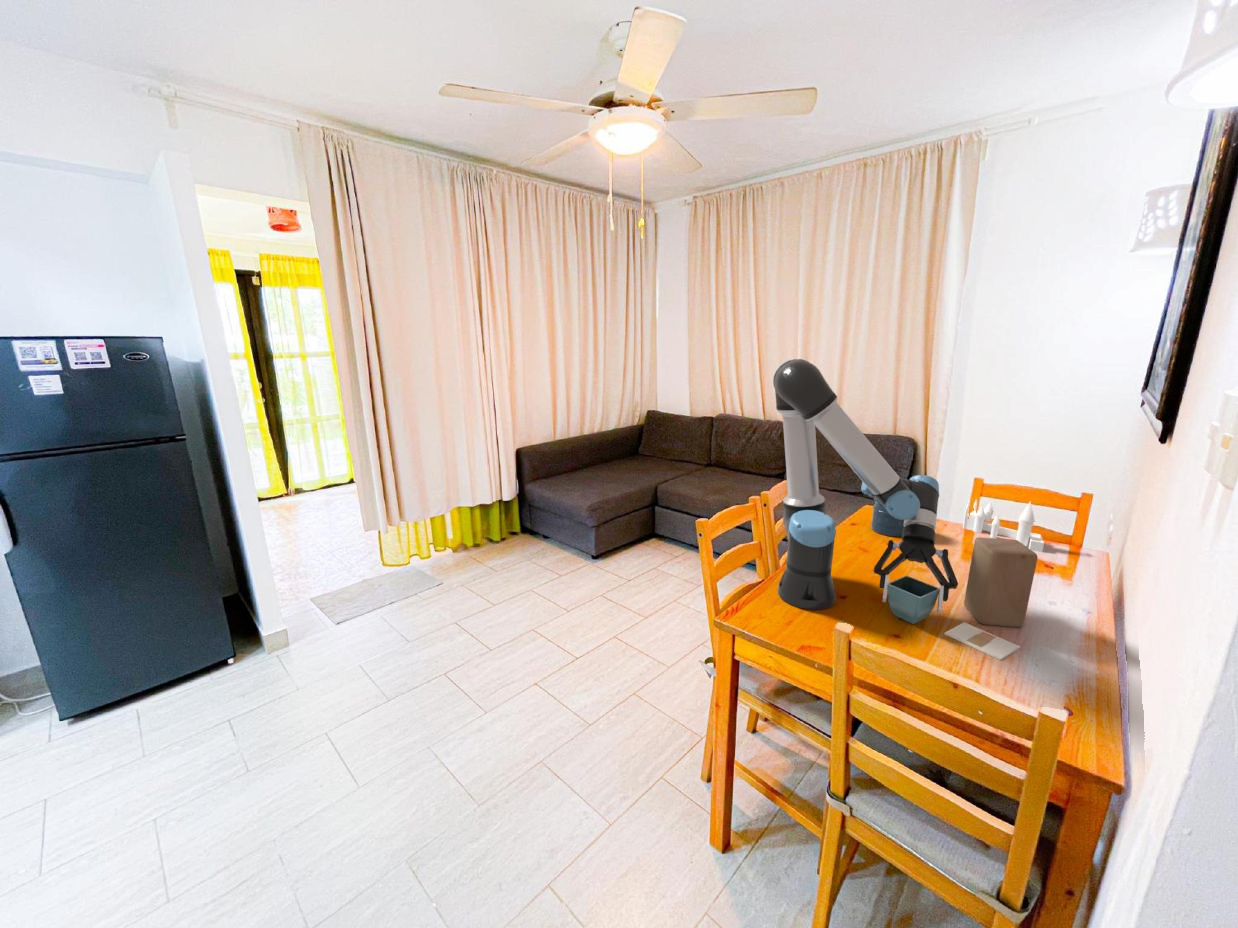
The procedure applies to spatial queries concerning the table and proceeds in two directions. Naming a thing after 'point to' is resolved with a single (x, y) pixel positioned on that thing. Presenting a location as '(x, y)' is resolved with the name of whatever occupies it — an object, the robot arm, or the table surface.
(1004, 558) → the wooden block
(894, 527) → the canister
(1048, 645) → the table surface
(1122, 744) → the table surface
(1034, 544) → the toy castle
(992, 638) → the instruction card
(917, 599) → the flower pot
